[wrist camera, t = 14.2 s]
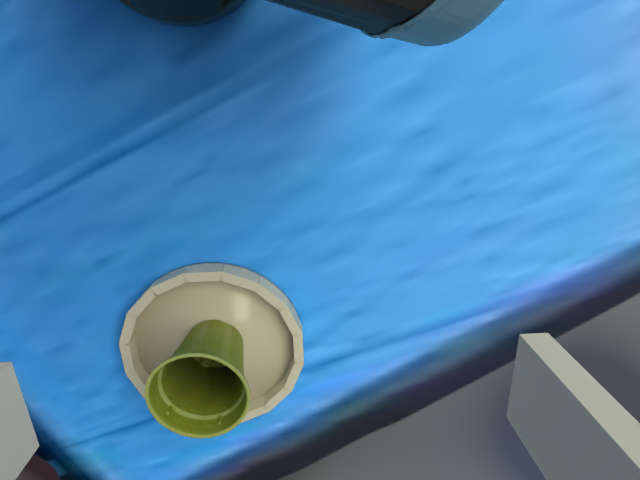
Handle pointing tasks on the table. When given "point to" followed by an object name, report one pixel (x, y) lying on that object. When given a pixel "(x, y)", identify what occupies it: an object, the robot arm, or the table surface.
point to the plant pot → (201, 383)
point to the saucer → (227, 306)
